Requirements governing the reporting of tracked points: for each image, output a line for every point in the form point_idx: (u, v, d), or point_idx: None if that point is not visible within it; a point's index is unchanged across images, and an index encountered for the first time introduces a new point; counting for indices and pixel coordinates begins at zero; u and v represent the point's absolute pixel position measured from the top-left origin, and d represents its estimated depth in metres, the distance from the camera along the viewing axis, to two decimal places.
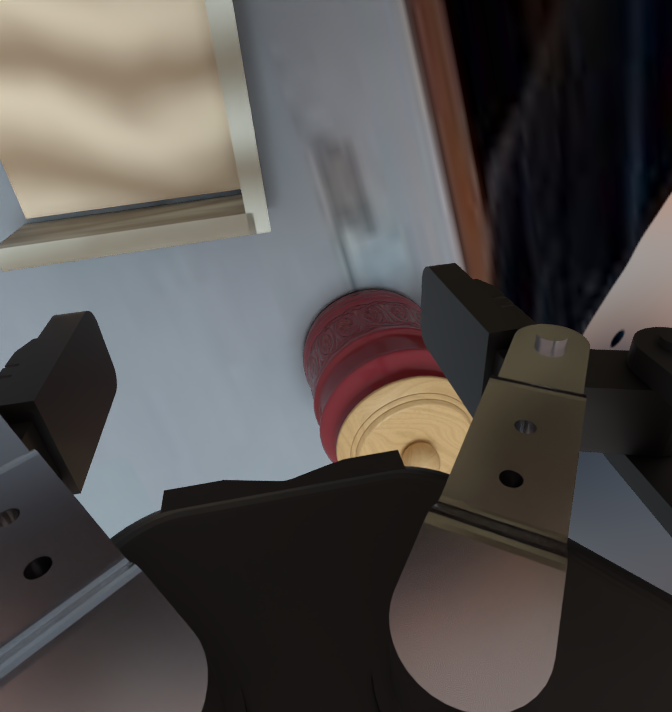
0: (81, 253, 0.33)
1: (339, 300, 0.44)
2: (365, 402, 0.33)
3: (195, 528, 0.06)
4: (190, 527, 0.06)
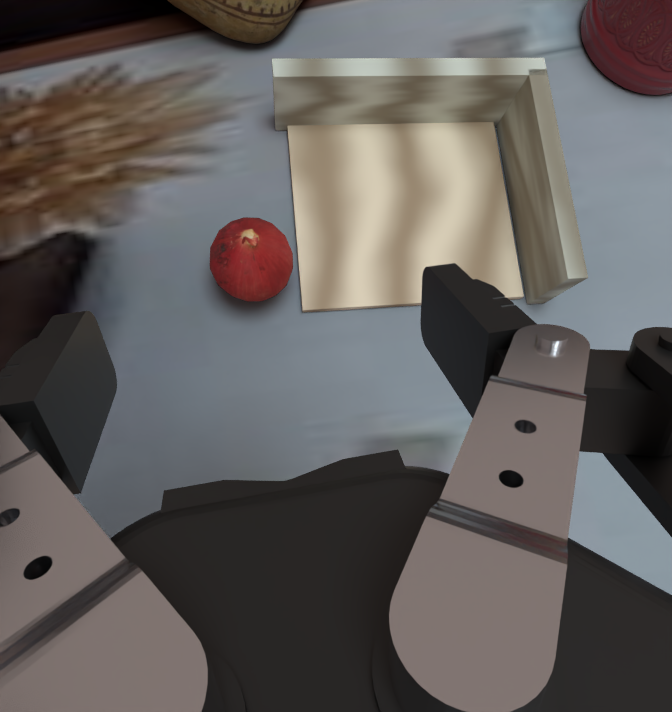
0: (568, 209, 0.35)
1: (593, 55, 0.45)
2: None
3: (195, 528, 0.06)
4: (190, 527, 0.06)
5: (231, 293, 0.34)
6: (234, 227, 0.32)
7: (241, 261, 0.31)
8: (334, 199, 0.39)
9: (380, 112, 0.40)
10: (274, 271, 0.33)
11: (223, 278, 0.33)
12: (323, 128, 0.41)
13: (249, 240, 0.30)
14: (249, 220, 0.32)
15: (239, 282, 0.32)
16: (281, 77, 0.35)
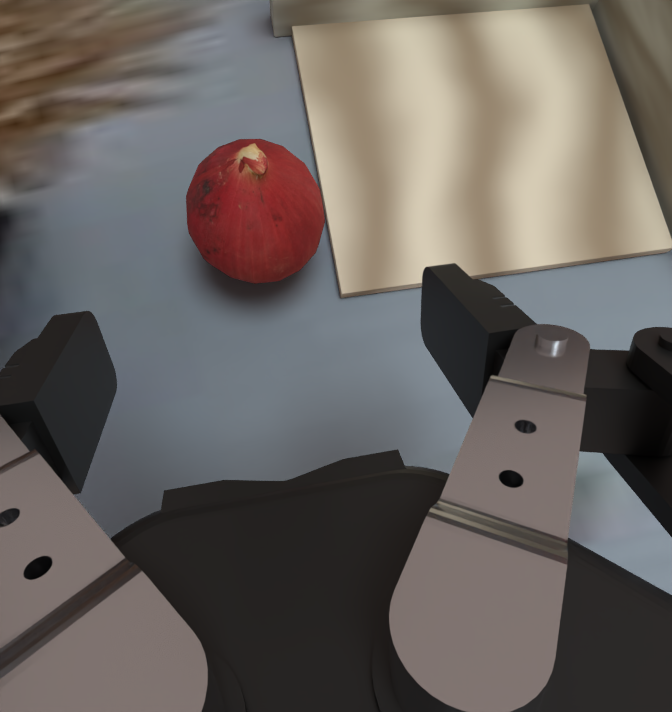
0: None
1: None
2: None
3: (195, 528, 0.06)
4: (190, 527, 0.06)
5: (227, 271, 0.20)
6: (223, 150, 0.18)
7: (241, 205, 0.18)
8: (372, 125, 0.26)
9: None
10: (298, 223, 0.19)
11: (211, 243, 0.19)
12: (345, 27, 0.27)
13: (251, 162, 0.17)
14: (248, 140, 0.19)
15: (239, 247, 0.19)
16: None
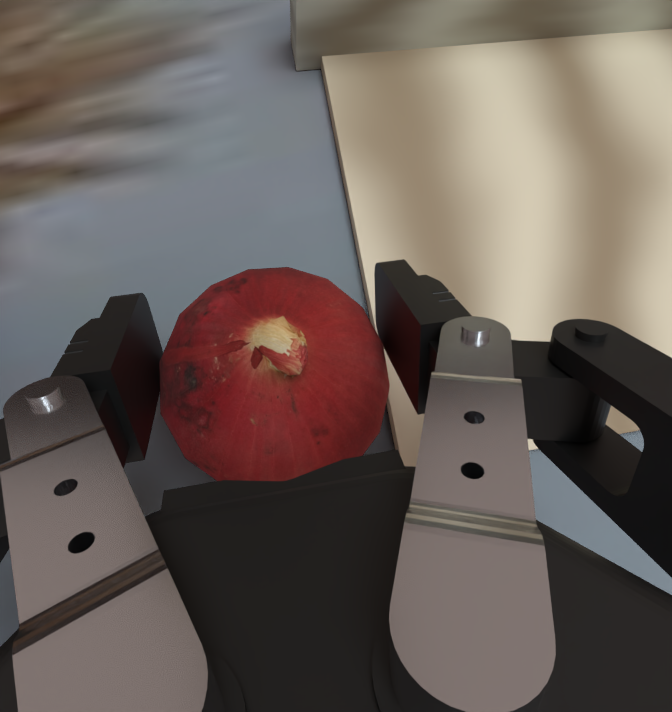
0: None
1: None
2: None
3: (195, 528, 0.06)
4: (190, 527, 0.06)
5: None
6: (222, 307, 0.10)
7: (254, 419, 0.10)
8: (441, 203, 0.18)
9: (522, 9, 0.18)
10: (354, 428, 0.11)
11: (202, 459, 0.11)
12: (398, 57, 0.19)
13: (277, 358, 0.09)
14: (266, 280, 0.11)
15: (249, 474, 0.10)
16: None
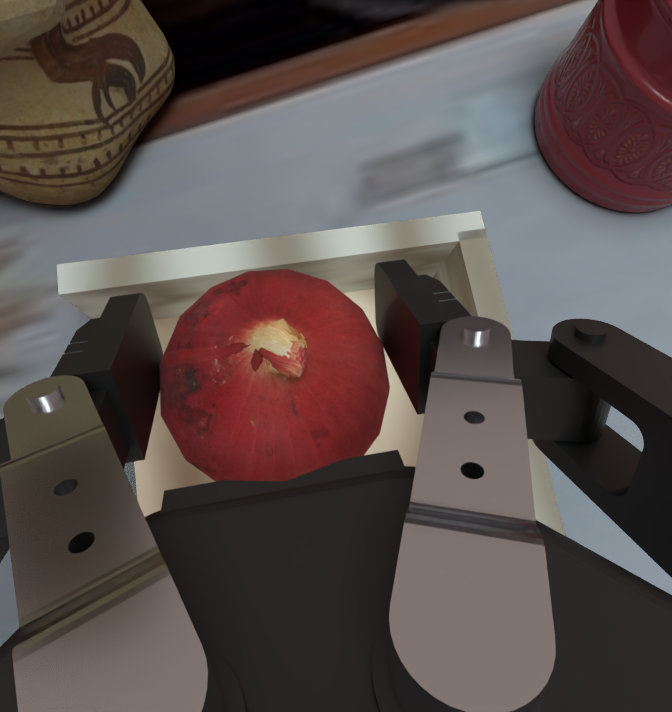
0: (536, 459, 0.23)
1: (555, 166, 0.32)
2: None
3: (195, 528, 0.06)
4: (190, 527, 0.06)
5: None
6: (222, 309, 0.10)
7: (255, 421, 0.10)
8: None
9: None
10: (354, 430, 0.11)
11: (201, 461, 0.11)
12: (175, 322, 0.28)
13: (277, 360, 0.09)
14: (266, 282, 0.11)
15: (249, 477, 0.10)
16: (72, 293, 0.23)
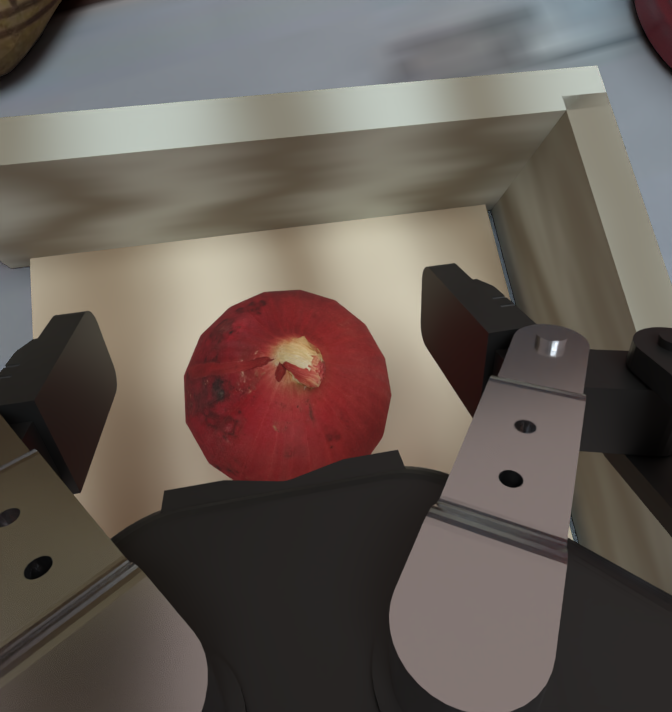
0: None
1: (668, 51, 0.23)
2: None
3: (195, 528, 0.06)
4: (190, 527, 0.06)
5: None
6: (246, 327, 0.11)
7: (276, 426, 0.11)
8: (136, 424, 0.17)
9: (229, 215, 0.18)
10: (362, 434, 0.12)
11: (225, 463, 0.12)
12: (113, 256, 0.18)
13: (299, 372, 0.10)
14: (284, 302, 0.12)
15: (269, 476, 0.12)
16: None
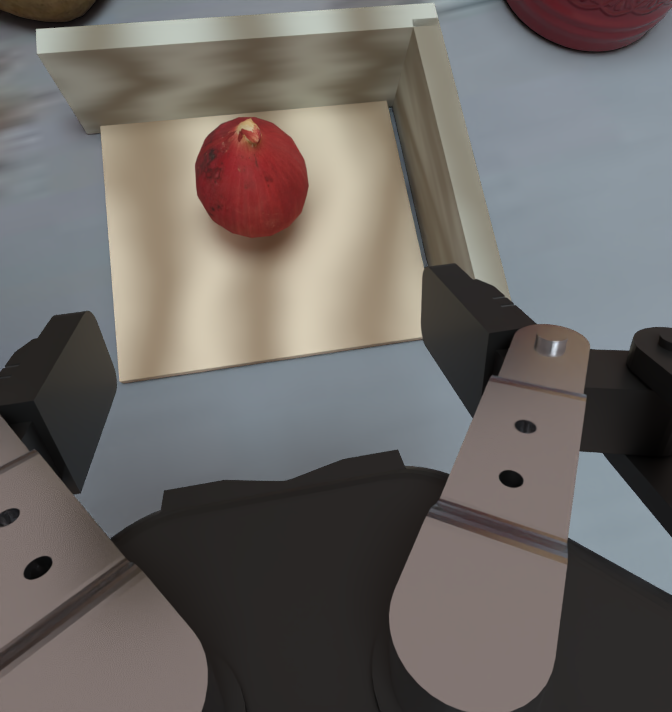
0: (479, 210, 0.24)
1: (516, 6, 0.34)
2: None
3: (195, 528, 0.06)
4: (190, 527, 0.06)
5: (228, 225, 0.25)
6: (225, 125, 0.23)
7: (239, 169, 0.22)
8: (166, 221, 0.29)
9: (222, 97, 0.29)
10: (285, 184, 0.23)
11: (216, 201, 0.24)
12: (151, 126, 0.30)
13: (248, 133, 0.21)
14: (245, 117, 0.23)
15: (238, 203, 0.23)
16: (49, 54, 0.24)
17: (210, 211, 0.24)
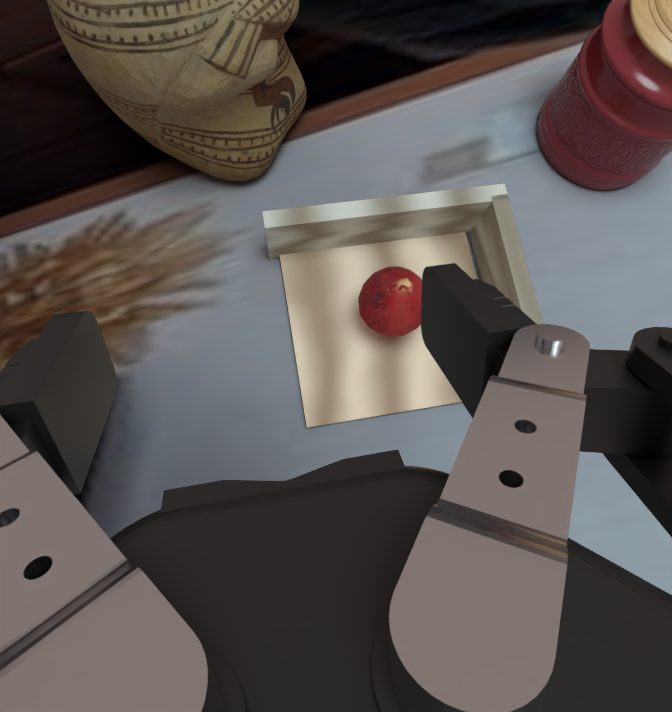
0: (537, 323, 0.39)
1: (551, 159, 0.49)
2: (663, 55, 0.36)
3: (195, 528, 0.06)
4: (190, 527, 0.06)
5: (381, 332, 0.40)
6: (386, 276, 0.38)
7: (397, 305, 0.37)
8: (327, 320, 0.44)
9: (362, 237, 0.44)
10: None
11: (378, 320, 0.39)
12: (312, 254, 0.45)
13: (406, 287, 0.36)
14: (396, 269, 0.39)
15: (393, 323, 0.38)
16: (272, 227, 0.39)
17: (371, 324, 0.40)
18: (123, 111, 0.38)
